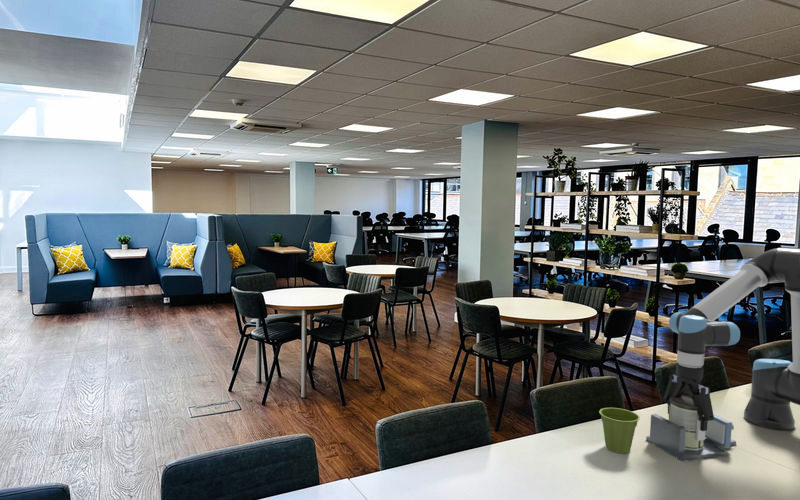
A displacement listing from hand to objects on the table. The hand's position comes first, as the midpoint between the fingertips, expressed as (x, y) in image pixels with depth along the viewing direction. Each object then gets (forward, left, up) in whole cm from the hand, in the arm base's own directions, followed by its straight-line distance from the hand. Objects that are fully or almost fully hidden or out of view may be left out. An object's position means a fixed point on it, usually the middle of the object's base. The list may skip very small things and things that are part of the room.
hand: (685, 432), depth 163 cm
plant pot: (+22, -4, -5) cm, 23 cm away
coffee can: (0, 0, -4) cm, 4 cm away
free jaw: (-14, 0, -4) cm, 14 cm away
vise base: (-5, 0, -5) cm, 7 cm away
